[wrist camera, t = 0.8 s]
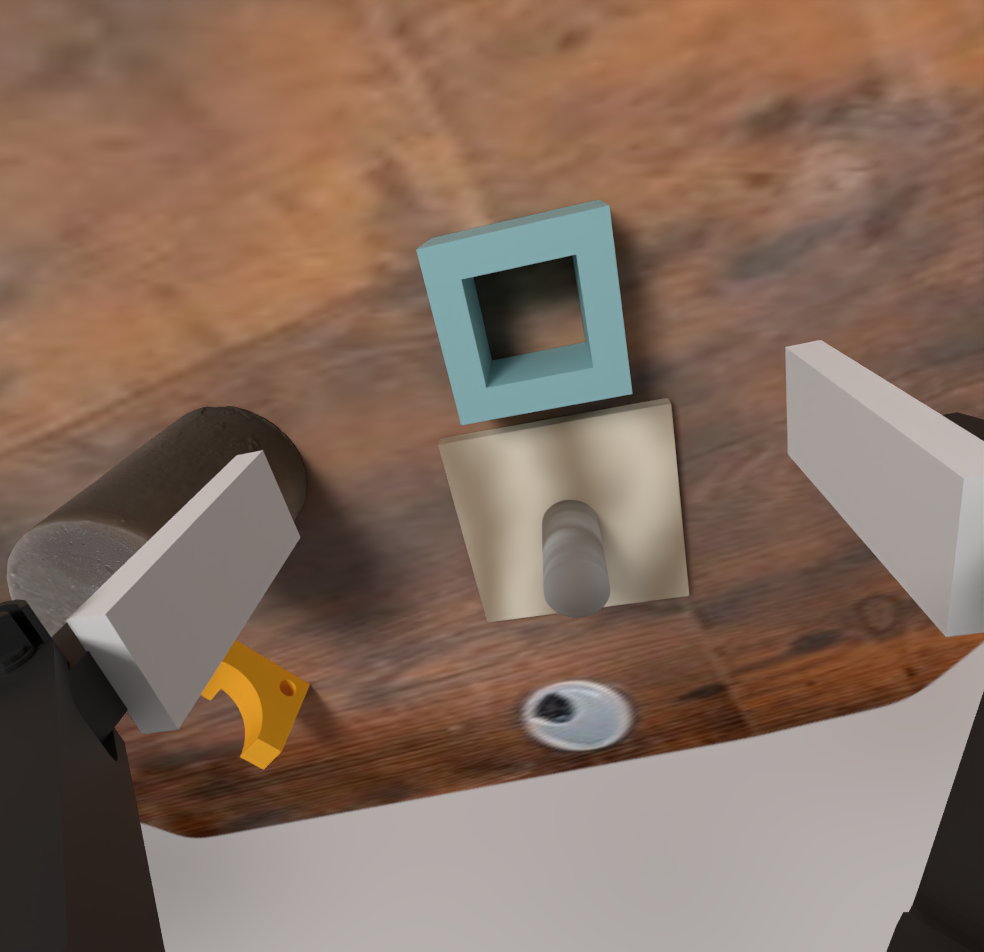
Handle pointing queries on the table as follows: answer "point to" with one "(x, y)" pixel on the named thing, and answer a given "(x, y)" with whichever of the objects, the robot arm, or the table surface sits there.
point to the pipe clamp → (259, 700)
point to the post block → (571, 511)
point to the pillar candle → (139, 507)
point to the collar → (541, 374)
